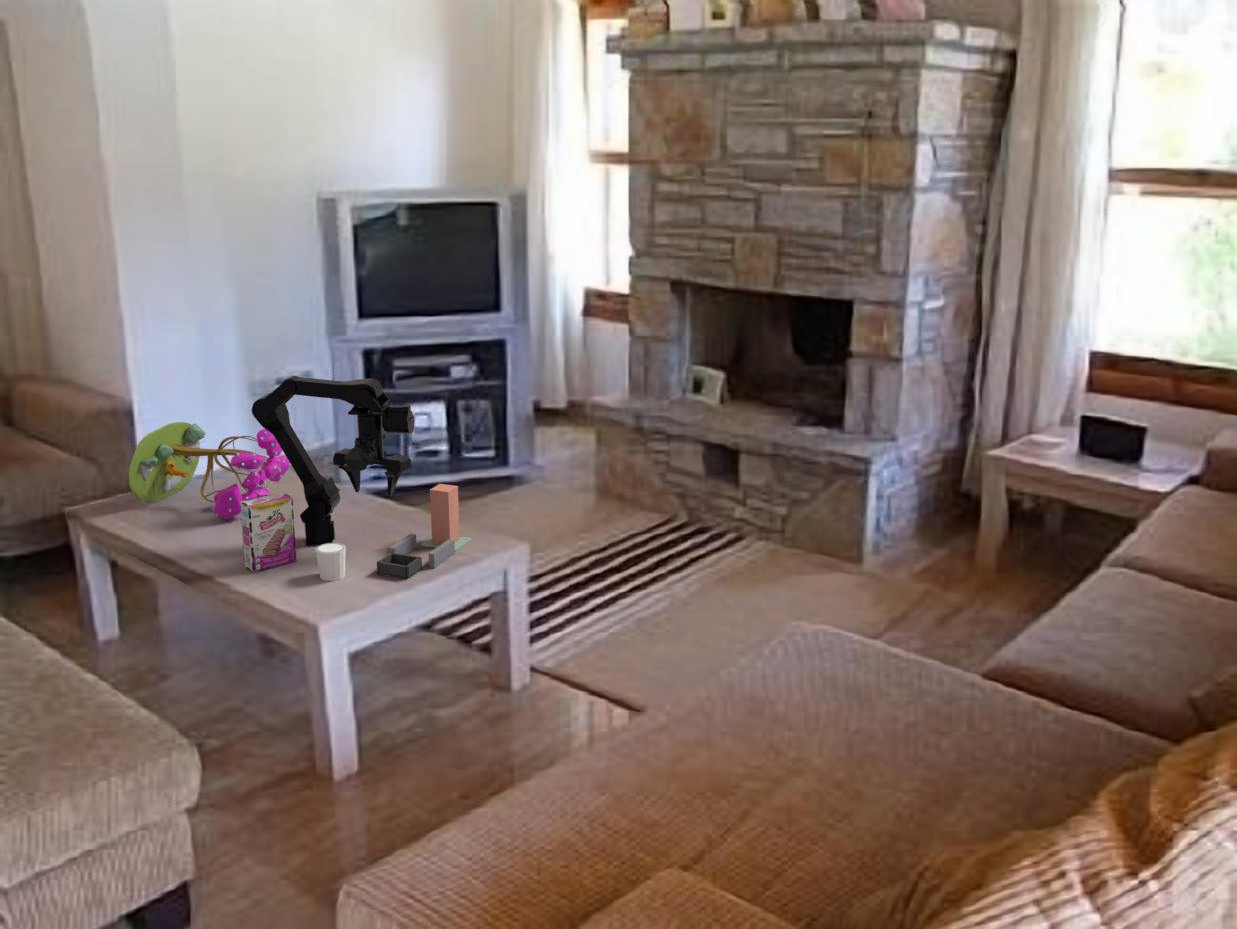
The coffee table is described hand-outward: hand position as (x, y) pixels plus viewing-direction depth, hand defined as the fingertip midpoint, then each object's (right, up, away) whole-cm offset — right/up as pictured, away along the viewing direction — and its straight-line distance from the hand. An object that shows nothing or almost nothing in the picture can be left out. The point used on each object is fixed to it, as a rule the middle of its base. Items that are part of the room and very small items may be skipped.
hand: (373, 494), depth 282 cm
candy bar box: (-22, -17, -9) cm, 29 cm away
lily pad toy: (-48, -4, +31) cm, 57 cm away
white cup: (-6, -19, -16) cm, 25 cm away
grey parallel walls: (+13, -15, -5) cm, 21 cm away
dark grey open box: (+9, -18, -13) cm, 24 cm away
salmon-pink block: (+17, -12, +5) cm, 21 cm away
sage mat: (+17, -12, +5) cm, 21 cm away
